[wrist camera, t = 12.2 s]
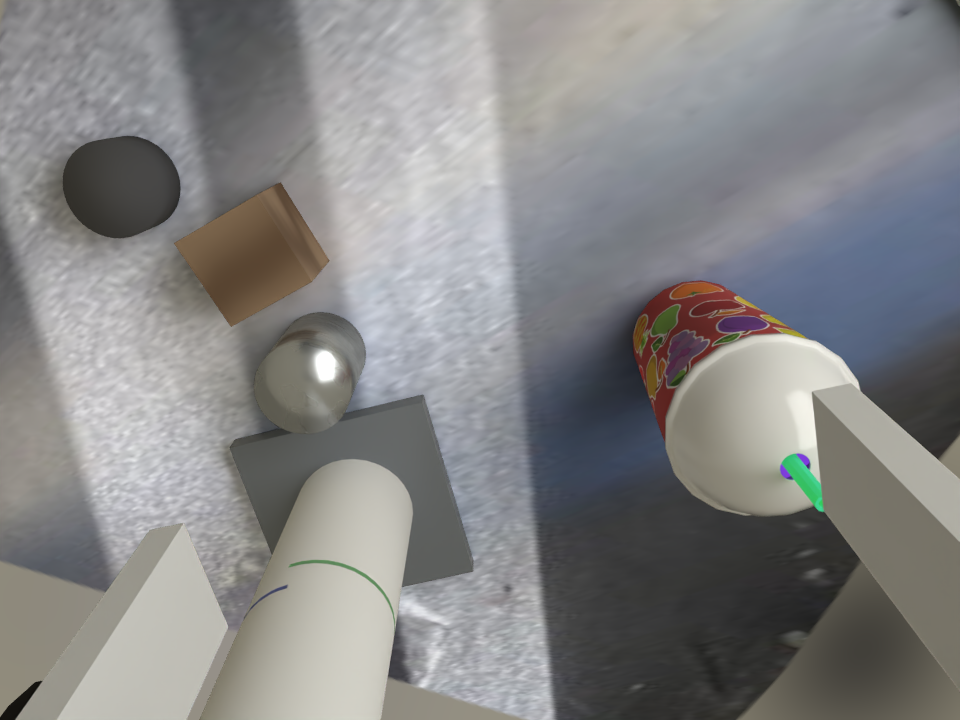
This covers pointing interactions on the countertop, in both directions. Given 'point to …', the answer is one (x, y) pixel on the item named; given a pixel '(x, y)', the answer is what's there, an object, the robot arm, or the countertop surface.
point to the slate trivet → (375, 438)
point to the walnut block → (254, 254)
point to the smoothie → (735, 398)
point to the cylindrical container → (323, 604)
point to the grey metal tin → (310, 373)
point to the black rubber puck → (121, 186)
